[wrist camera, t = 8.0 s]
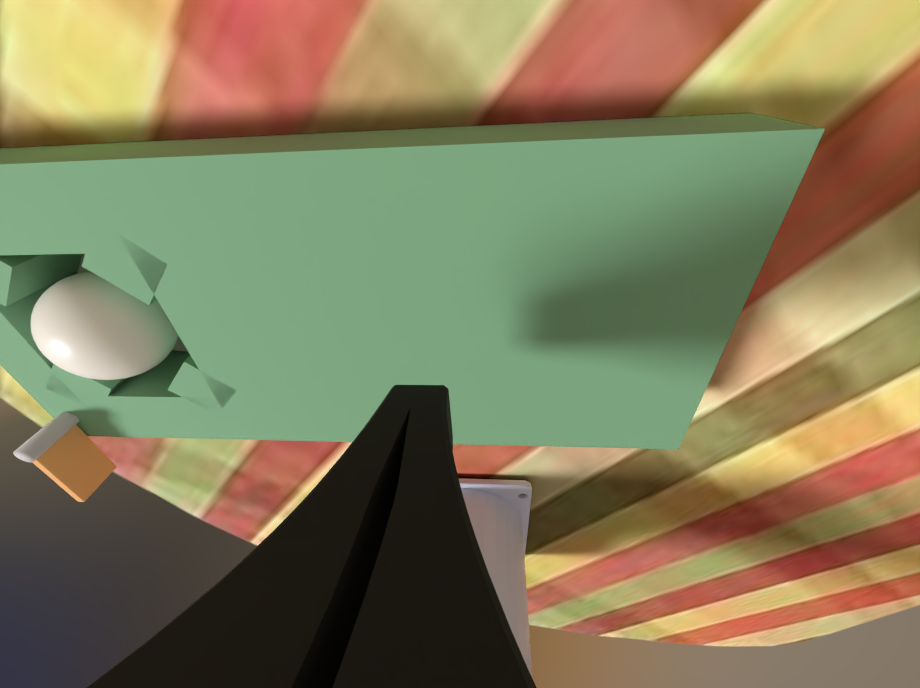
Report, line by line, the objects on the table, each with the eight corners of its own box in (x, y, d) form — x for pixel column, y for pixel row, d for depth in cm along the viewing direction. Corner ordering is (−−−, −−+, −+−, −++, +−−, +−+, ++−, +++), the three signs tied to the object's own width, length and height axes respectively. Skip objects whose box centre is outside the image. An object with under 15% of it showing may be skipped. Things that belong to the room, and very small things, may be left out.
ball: (31, 316, 15) (-9, 258, 12) (158, 294, 17) (153, 241, 14) (70, 410, 14) (38, 373, 11) (194, 372, 17) (196, 335, 14)
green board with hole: (641, 426, 19) (682, 527, 15) (145, 417, 21) (62, 503, 17) (750, 113, 11) (904, 145, 7) (-65, 151, 13) (-314, 193, 9)
